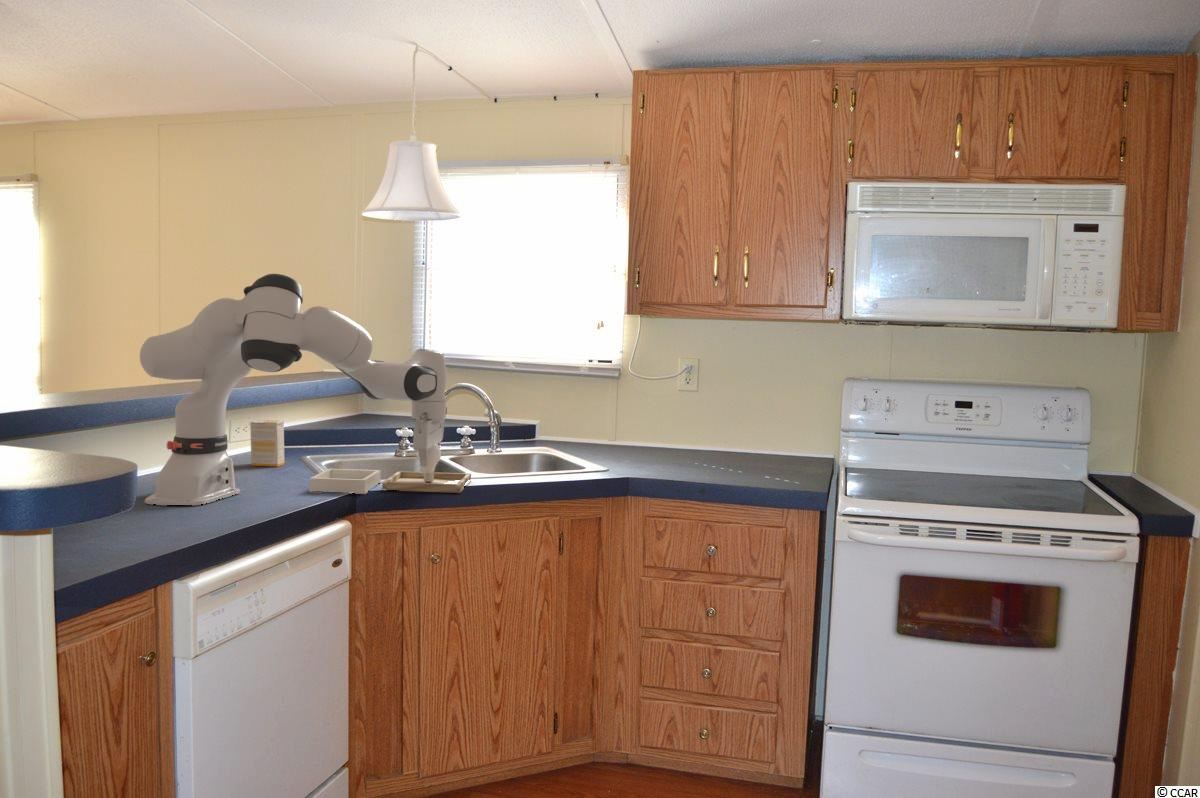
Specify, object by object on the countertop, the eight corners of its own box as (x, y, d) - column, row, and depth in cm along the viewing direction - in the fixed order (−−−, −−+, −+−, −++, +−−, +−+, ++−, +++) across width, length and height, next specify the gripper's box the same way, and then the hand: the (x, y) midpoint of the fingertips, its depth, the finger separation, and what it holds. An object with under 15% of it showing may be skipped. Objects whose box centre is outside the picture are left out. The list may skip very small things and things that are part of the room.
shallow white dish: (365, 493, 217) (365, 480, 217) (309, 492, 217) (309, 478, 217) (380, 483, 231) (380, 470, 231) (328, 481, 231) (328, 468, 231)
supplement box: (285, 464, 255) (284, 420, 254) (277, 467, 250) (277, 422, 249) (258, 463, 256) (257, 419, 254) (250, 466, 251) (249, 421, 250)
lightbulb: (430, 479, 235) (430, 439, 234) (445, 483, 231) (446, 442, 230) (411, 482, 230) (411, 441, 229) (426, 486, 226) (427, 444, 225)
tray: (460, 492, 222) (460, 484, 221) (382, 490, 222) (382, 482, 222) (470, 481, 238) (471, 473, 237) (398, 478, 238) (398, 471, 238)
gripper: (432, 415, 217) (431, 470, 219) (448, 407, 238) (447, 457, 239) (407, 415, 218) (406, 469, 219) (425, 406, 238) (424, 456, 239)
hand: (428, 462), depth 229 cm, fingers open, 8 cm apart
